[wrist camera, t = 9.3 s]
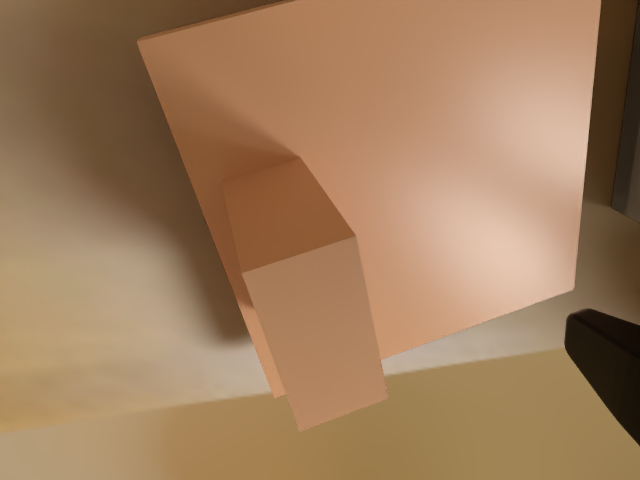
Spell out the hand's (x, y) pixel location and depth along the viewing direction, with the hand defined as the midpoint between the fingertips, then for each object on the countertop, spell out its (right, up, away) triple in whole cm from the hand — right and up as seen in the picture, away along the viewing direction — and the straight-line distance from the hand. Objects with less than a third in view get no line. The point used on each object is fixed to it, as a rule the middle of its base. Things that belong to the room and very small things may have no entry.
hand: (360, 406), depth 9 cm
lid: (+2, +6, +9) cm, 10 cm away
